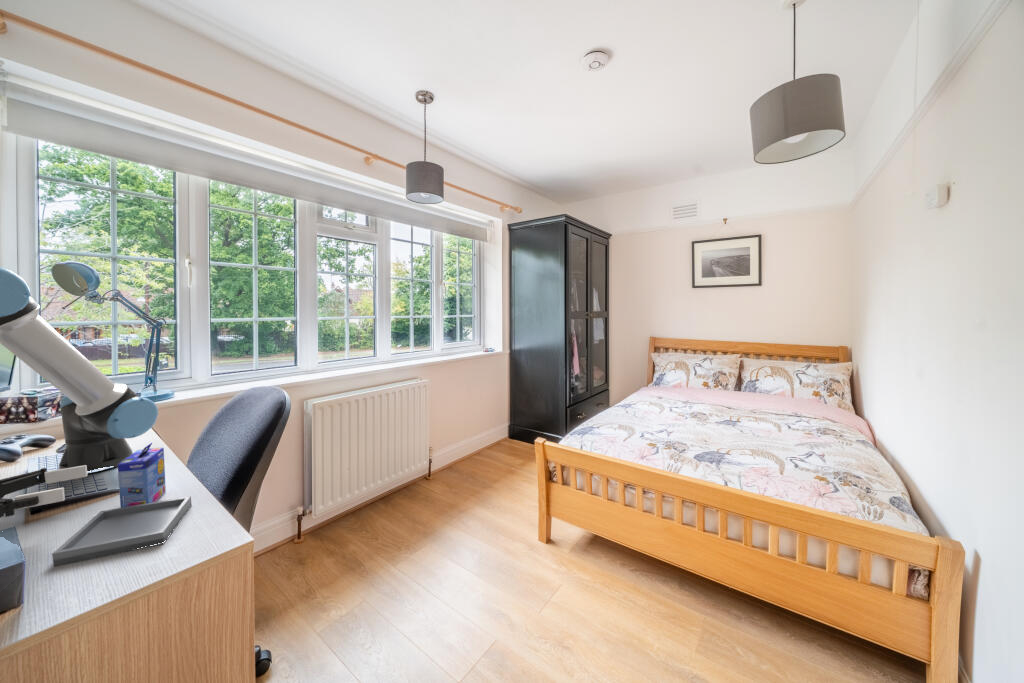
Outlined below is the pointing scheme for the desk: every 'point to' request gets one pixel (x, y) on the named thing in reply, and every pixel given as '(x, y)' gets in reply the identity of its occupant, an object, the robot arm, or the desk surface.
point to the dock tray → (123, 530)
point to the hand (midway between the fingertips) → (76, 481)
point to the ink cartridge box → (142, 477)
